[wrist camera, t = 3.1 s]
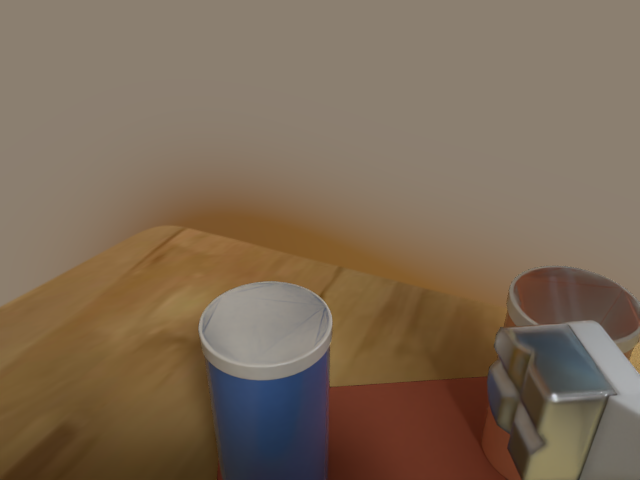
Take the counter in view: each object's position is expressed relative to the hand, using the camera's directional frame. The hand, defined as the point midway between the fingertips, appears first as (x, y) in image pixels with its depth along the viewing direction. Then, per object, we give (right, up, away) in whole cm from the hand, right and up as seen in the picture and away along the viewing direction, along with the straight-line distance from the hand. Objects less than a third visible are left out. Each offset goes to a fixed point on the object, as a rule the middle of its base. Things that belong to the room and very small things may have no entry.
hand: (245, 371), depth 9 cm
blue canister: (-1, -10, +21) cm, 24 cm away
